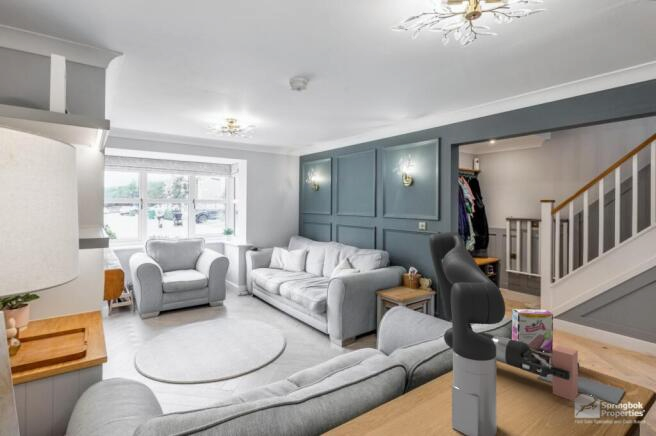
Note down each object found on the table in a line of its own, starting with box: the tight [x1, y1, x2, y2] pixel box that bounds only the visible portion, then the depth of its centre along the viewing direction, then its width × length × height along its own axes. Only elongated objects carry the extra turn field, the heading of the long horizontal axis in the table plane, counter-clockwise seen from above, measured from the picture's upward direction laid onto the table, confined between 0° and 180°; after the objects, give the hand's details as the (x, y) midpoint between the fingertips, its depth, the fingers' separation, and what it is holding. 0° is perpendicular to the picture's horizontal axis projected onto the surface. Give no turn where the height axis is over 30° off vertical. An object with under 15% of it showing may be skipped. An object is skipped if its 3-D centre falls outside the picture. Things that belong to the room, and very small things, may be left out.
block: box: [552, 345, 579, 402], centre depth 89 cm, size 4×4×12 cm
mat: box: [537, 375, 626, 406], centre depth 94 cm, size 10×18×1 cm, turn 39°
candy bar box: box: [511, 308, 554, 351], centre depth 111 cm, size 11×5×16 cm, turn 84°
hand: (574, 371), depth 88 cm, fingers open, 7 cm apart
